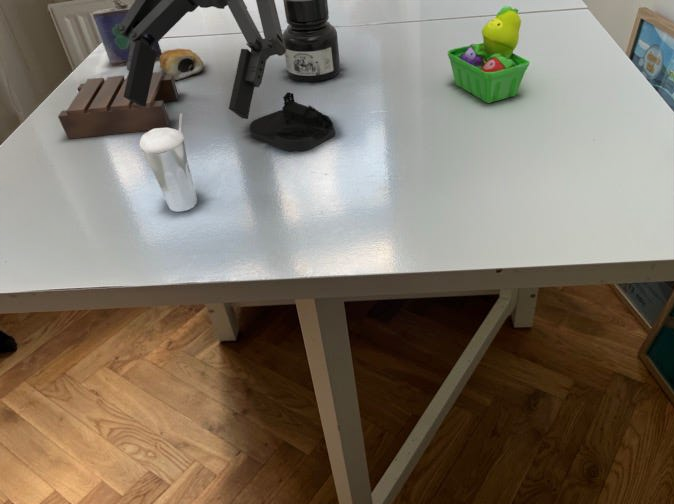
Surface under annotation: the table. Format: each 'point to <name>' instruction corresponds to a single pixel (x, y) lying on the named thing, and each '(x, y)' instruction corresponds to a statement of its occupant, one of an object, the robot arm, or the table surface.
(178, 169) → the milkshake
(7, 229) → the table surface
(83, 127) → the rack
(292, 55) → the ink bottle
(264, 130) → the black miniature model
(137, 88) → the robot arm
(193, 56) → the pastry
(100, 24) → the flask
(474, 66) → the fruit basket
